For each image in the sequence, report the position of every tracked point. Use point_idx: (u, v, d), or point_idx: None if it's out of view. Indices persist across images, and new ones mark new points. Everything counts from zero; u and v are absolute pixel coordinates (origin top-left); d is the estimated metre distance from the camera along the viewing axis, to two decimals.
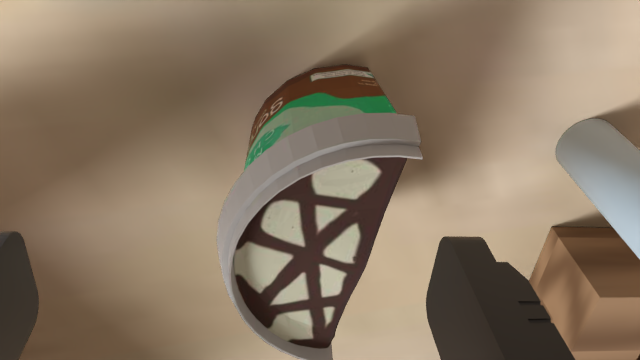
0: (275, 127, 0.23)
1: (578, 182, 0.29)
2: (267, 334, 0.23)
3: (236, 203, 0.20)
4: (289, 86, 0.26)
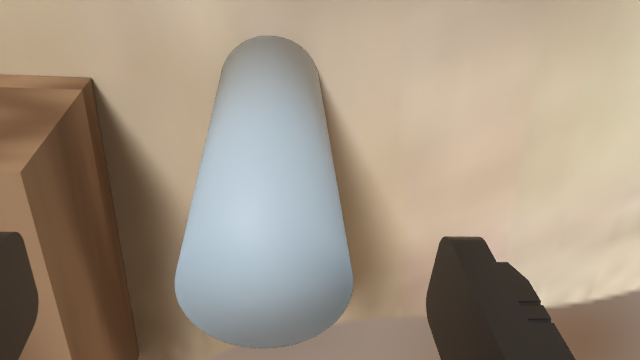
0: None
1: (243, 70, 0.16)
2: None
3: None
4: None
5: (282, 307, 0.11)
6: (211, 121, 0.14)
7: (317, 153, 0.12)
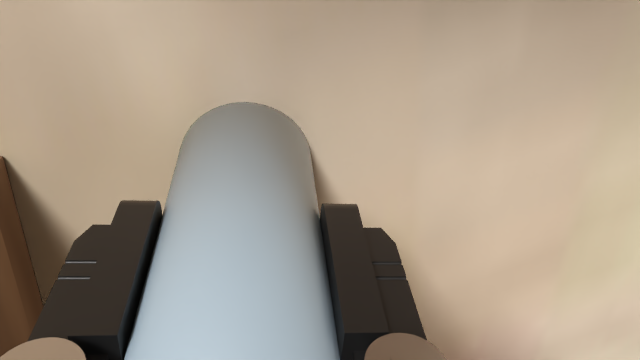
0: None
1: (205, 164, 0.11)
2: None
3: None
4: None
5: None
6: (154, 248, 0.10)
7: (311, 333, 0.08)
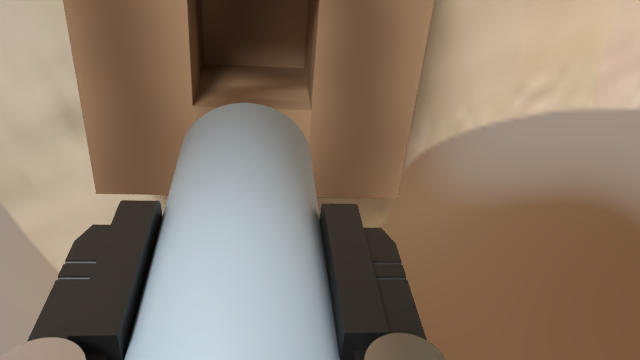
0: None
1: (205, 165, 0.11)
2: None
3: None
4: None
5: None
6: (155, 249, 0.10)
7: (312, 334, 0.08)
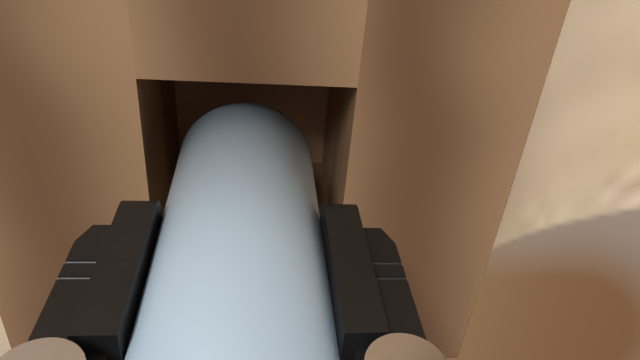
0: None
1: (205, 165, 0.11)
2: None
3: None
4: None
5: None
6: (155, 248, 0.10)
7: (311, 333, 0.08)
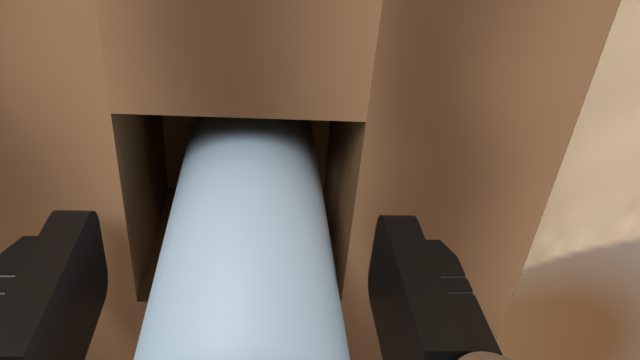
0: None
1: None
2: None
3: None
4: None
5: None
6: (180, 176, 0.12)
7: (310, 228, 0.10)
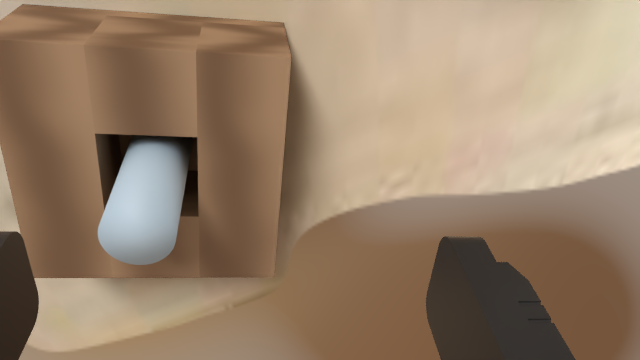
0: None
1: None
2: None
3: None
4: None
5: (145, 244, 0.25)
6: None
7: (169, 177, 0.26)
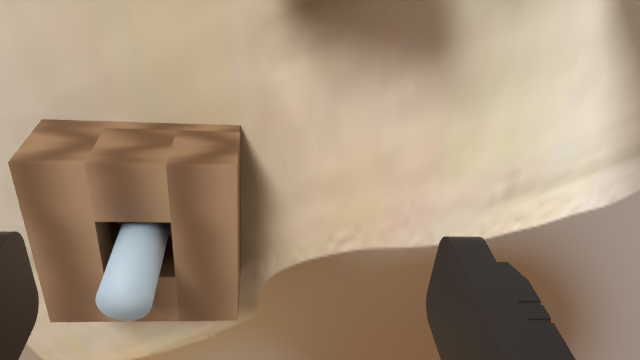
0: None
1: None
2: None
3: None
4: None
5: (130, 307, 0.34)
6: (117, 236, 0.38)
7: (149, 254, 0.36)
